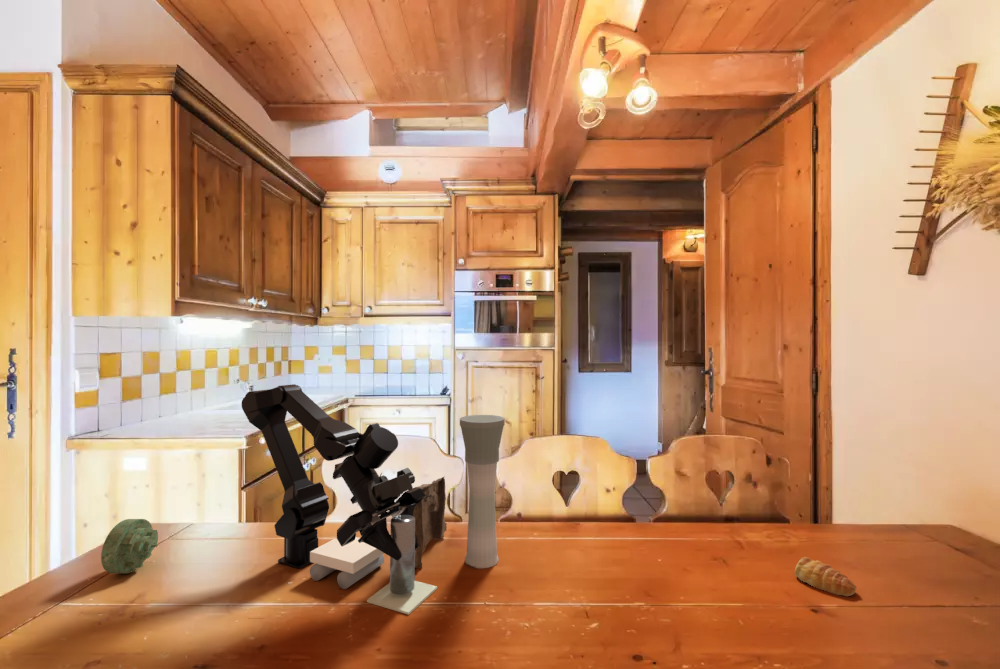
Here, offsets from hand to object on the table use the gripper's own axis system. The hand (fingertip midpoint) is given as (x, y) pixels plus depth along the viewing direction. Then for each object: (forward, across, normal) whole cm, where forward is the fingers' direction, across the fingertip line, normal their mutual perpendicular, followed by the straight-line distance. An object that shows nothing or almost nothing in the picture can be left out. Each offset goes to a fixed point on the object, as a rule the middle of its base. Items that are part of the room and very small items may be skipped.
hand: (408, 553), depth 84 cm
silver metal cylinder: (+4, 0, +6) cm, 7 cm away
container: (+9, +18, +2) cm, 21 cm away
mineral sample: (0, +16, +12) cm, 20 cm away
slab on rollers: (-6, +1, +17) cm, 18 cm away
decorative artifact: (-32, -19, +44) cm, 58 cm away
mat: (+5, 0, +6) cm, 8 cm away
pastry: (+53, +42, -42) cm, 80 cm away
